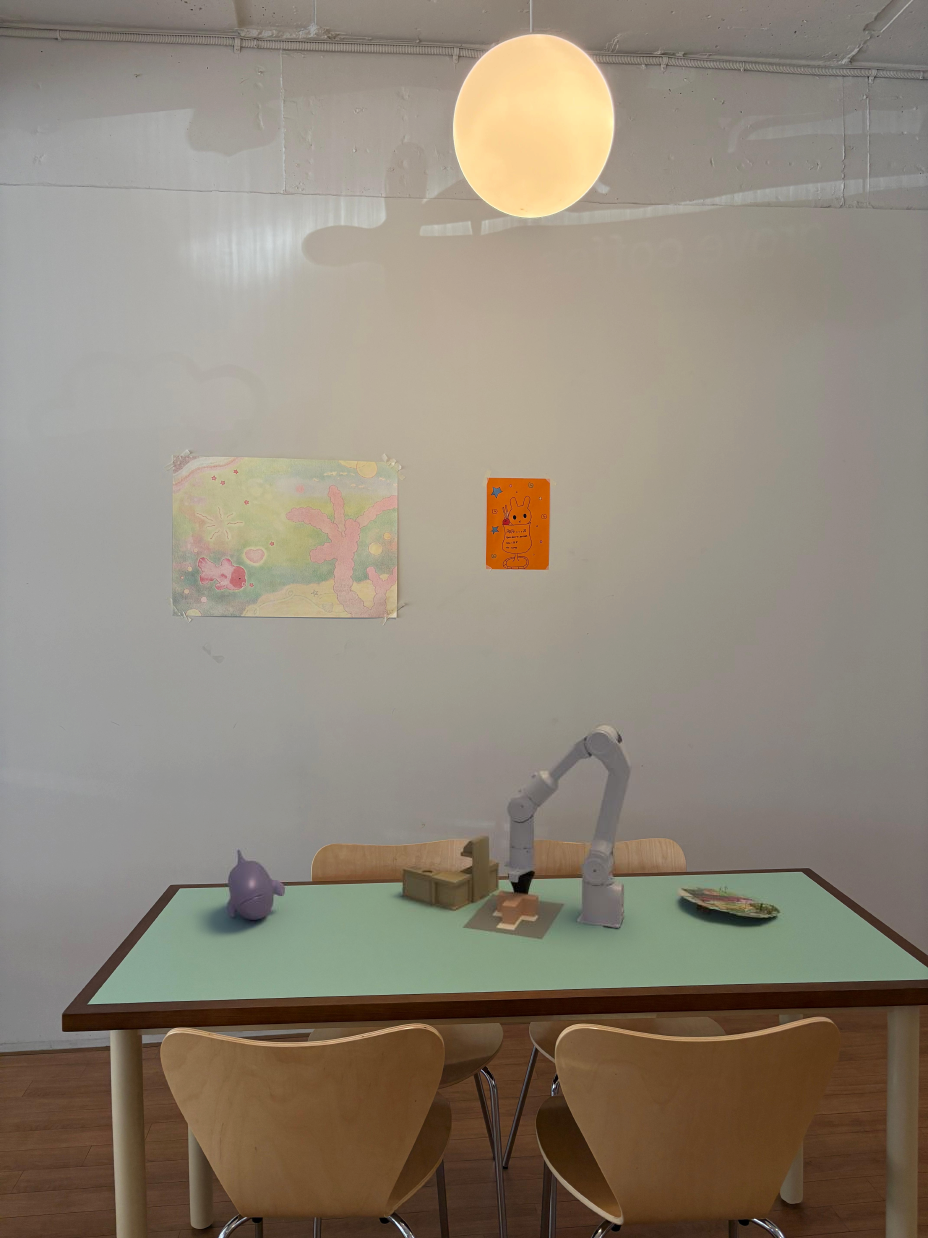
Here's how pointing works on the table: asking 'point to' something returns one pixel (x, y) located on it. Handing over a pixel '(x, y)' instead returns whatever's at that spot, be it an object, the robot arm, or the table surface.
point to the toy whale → (251, 890)
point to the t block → (516, 906)
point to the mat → (524, 926)
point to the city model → (726, 902)
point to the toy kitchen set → (454, 880)
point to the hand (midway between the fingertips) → (521, 903)
